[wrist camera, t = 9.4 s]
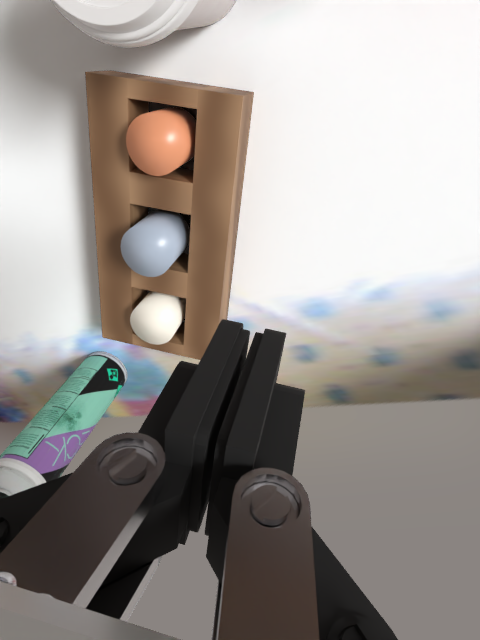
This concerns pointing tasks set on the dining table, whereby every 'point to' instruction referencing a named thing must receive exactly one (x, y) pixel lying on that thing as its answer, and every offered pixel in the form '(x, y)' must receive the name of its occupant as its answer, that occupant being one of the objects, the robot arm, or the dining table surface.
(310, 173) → the dining table surface
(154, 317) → the cream cylinder
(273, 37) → the dining table surface
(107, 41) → the coffee cup
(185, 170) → the wooden egg holder
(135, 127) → the rust egg
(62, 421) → the spray can
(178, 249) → the blue-grey egg
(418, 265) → the dining table surface
